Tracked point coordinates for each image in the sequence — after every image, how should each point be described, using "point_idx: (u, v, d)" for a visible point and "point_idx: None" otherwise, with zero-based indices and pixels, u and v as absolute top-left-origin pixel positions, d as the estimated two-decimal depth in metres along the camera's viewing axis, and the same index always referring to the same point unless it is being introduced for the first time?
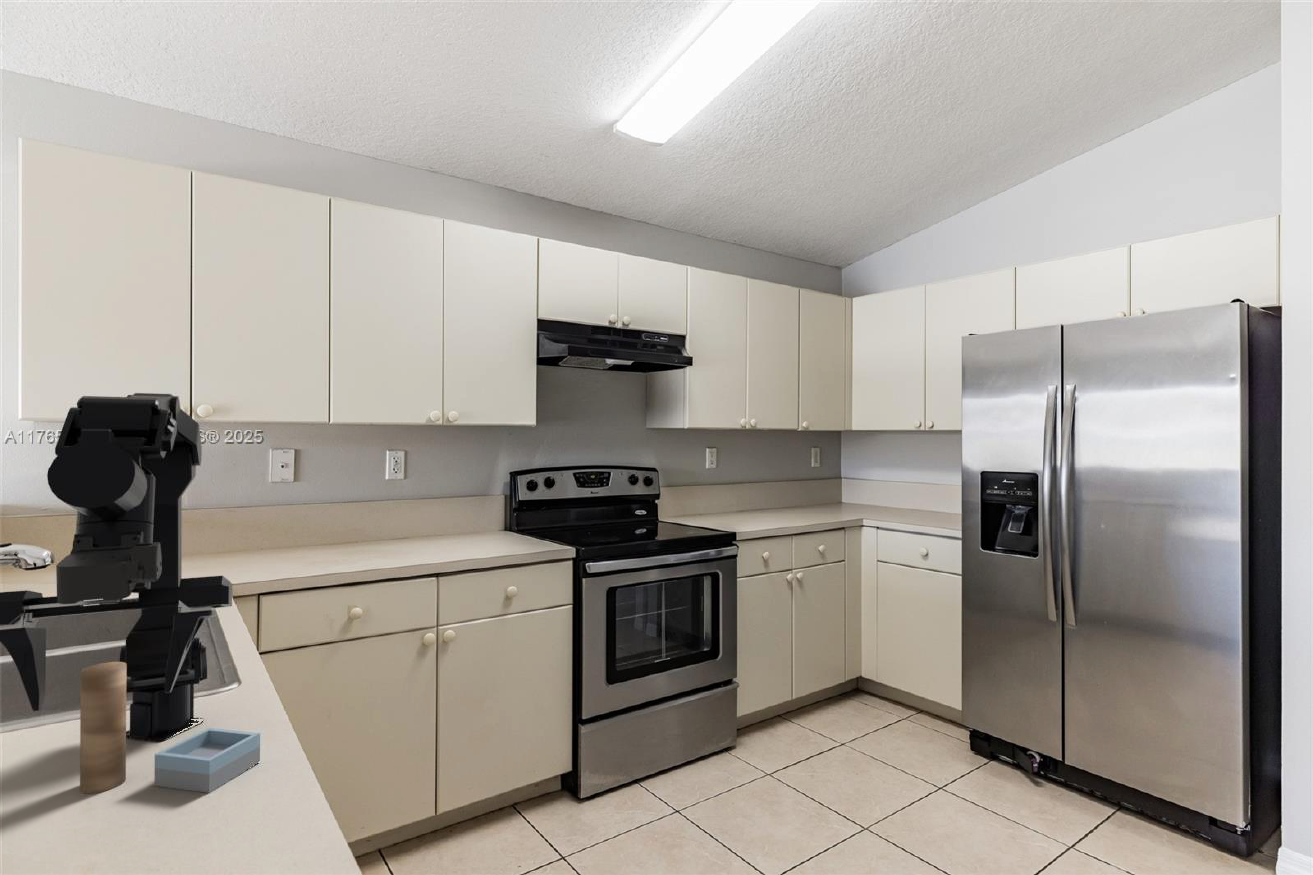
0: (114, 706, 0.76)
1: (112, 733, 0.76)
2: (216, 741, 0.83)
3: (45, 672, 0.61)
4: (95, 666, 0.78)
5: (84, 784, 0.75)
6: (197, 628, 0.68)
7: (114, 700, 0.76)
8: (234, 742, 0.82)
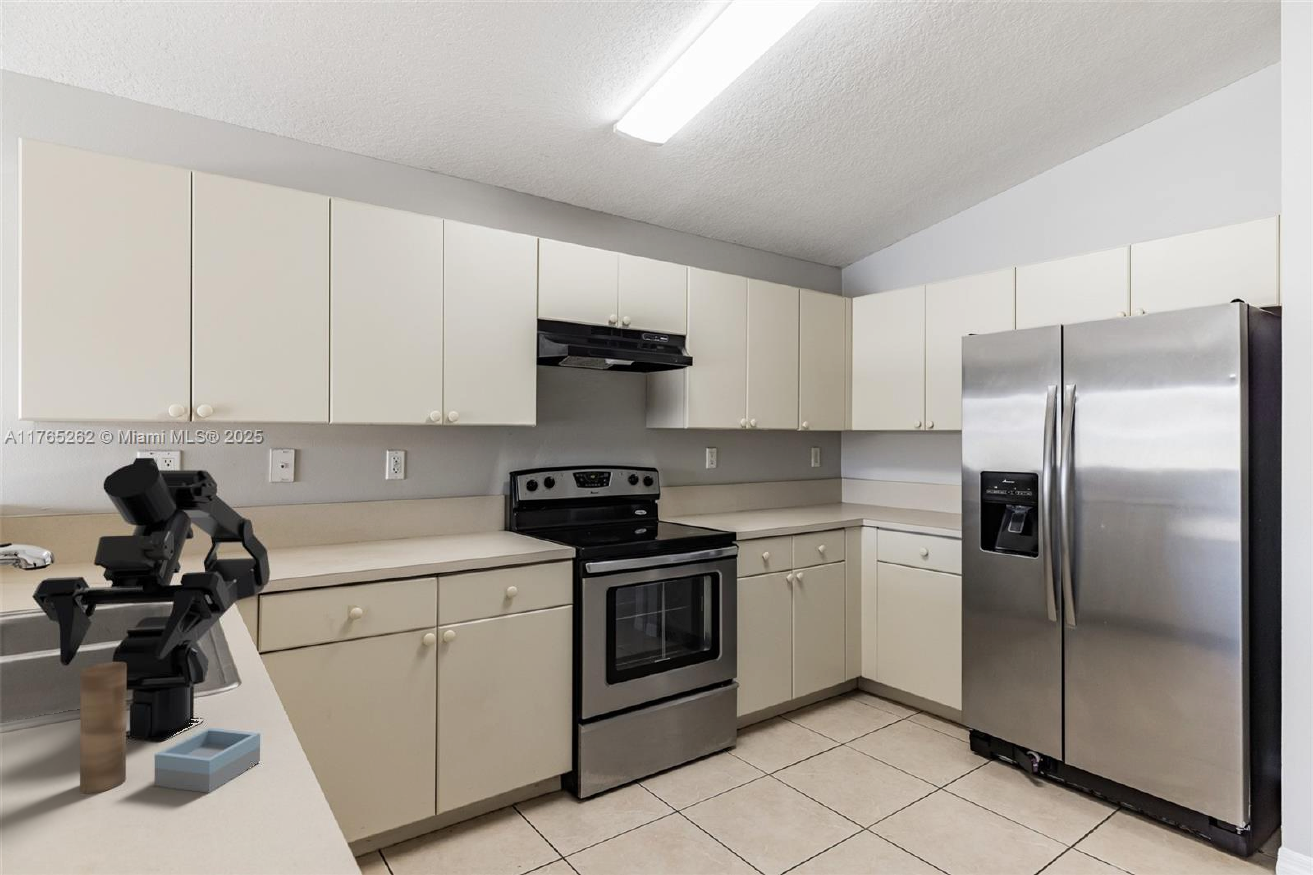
0: (114, 706, 0.76)
1: (112, 733, 0.76)
2: (216, 741, 0.83)
3: (79, 645, 0.80)
4: (95, 666, 0.78)
5: (84, 784, 0.75)
6: (195, 623, 0.85)
7: (114, 700, 0.76)
8: (234, 742, 0.82)
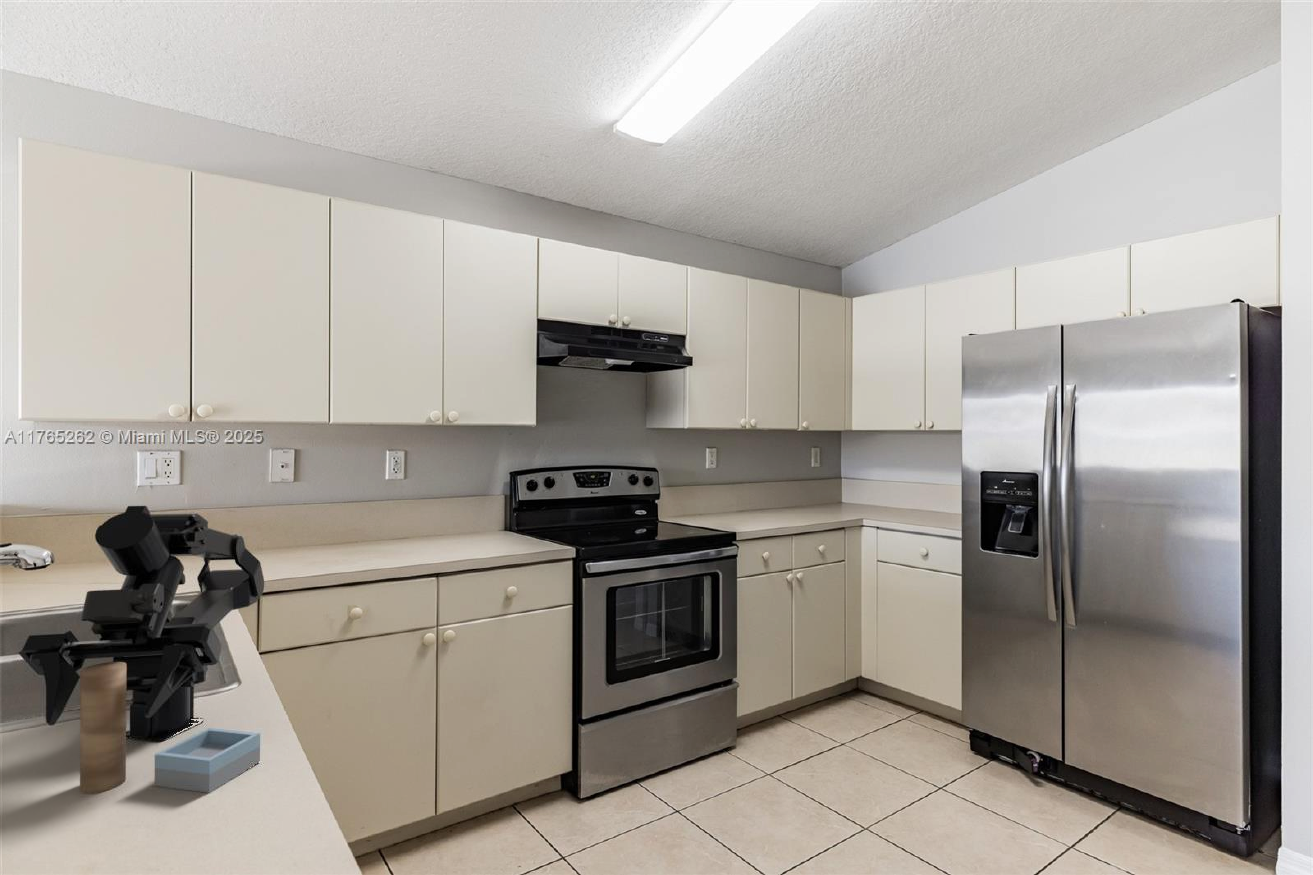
0: (114, 706, 0.76)
1: (112, 733, 0.76)
2: (216, 741, 0.83)
3: (66, 702, 0.78)
4: (95, 666, 0.78)
5: (84, 784, 0.75)
6: (186, 677, 0.83)
7: (114, 700, 0.76)
8: (234, 742, 0.82)
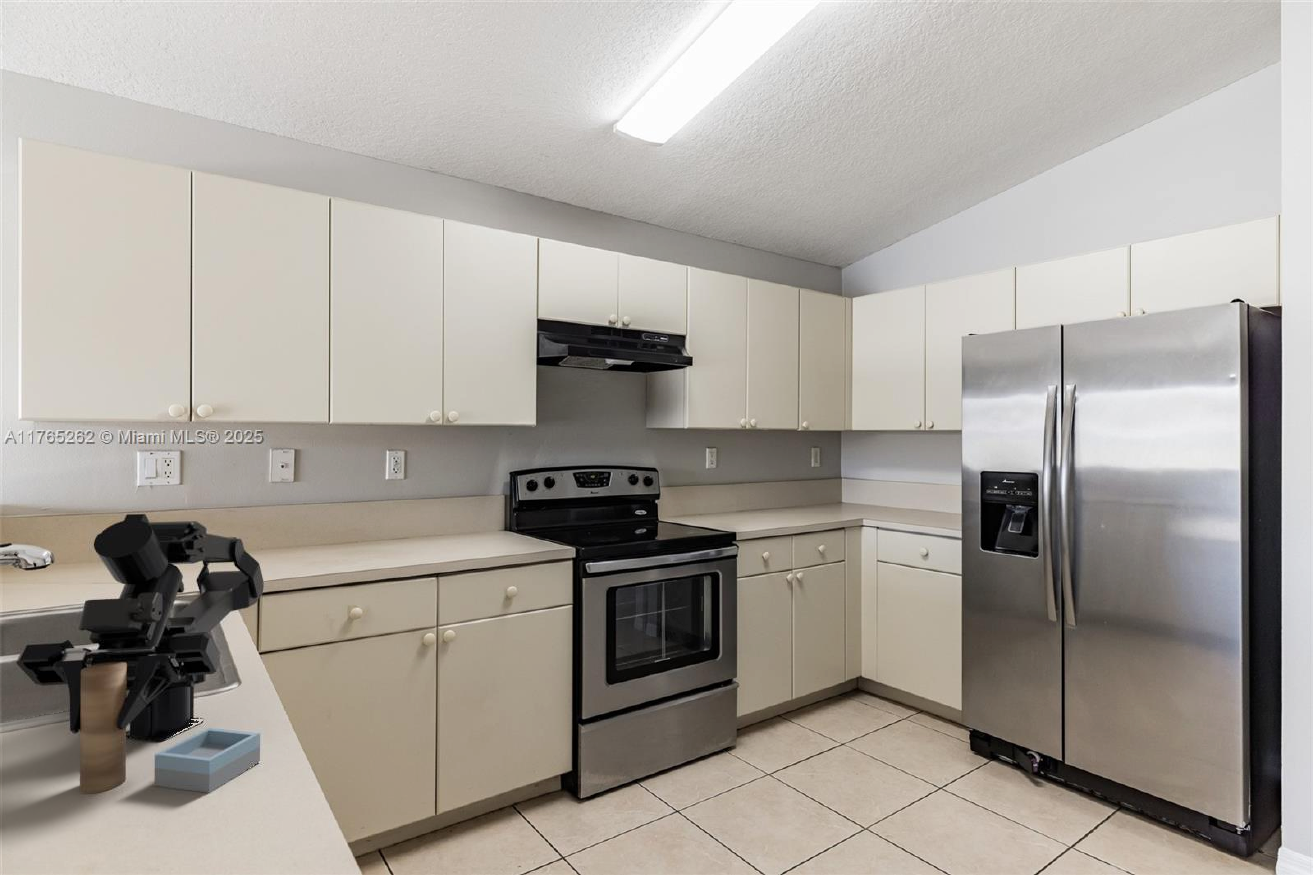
0: (114, 706, 0.76)
1: (112, 733, 0.76)
2: (216, 741, 0.83)
3: None
4: (95, 666, 0.78)
5: (84, 784, 0.75)
6: (161, 688, 0.82)
7: (114, 700, 0.76)
8: (234, 742, 0.82)
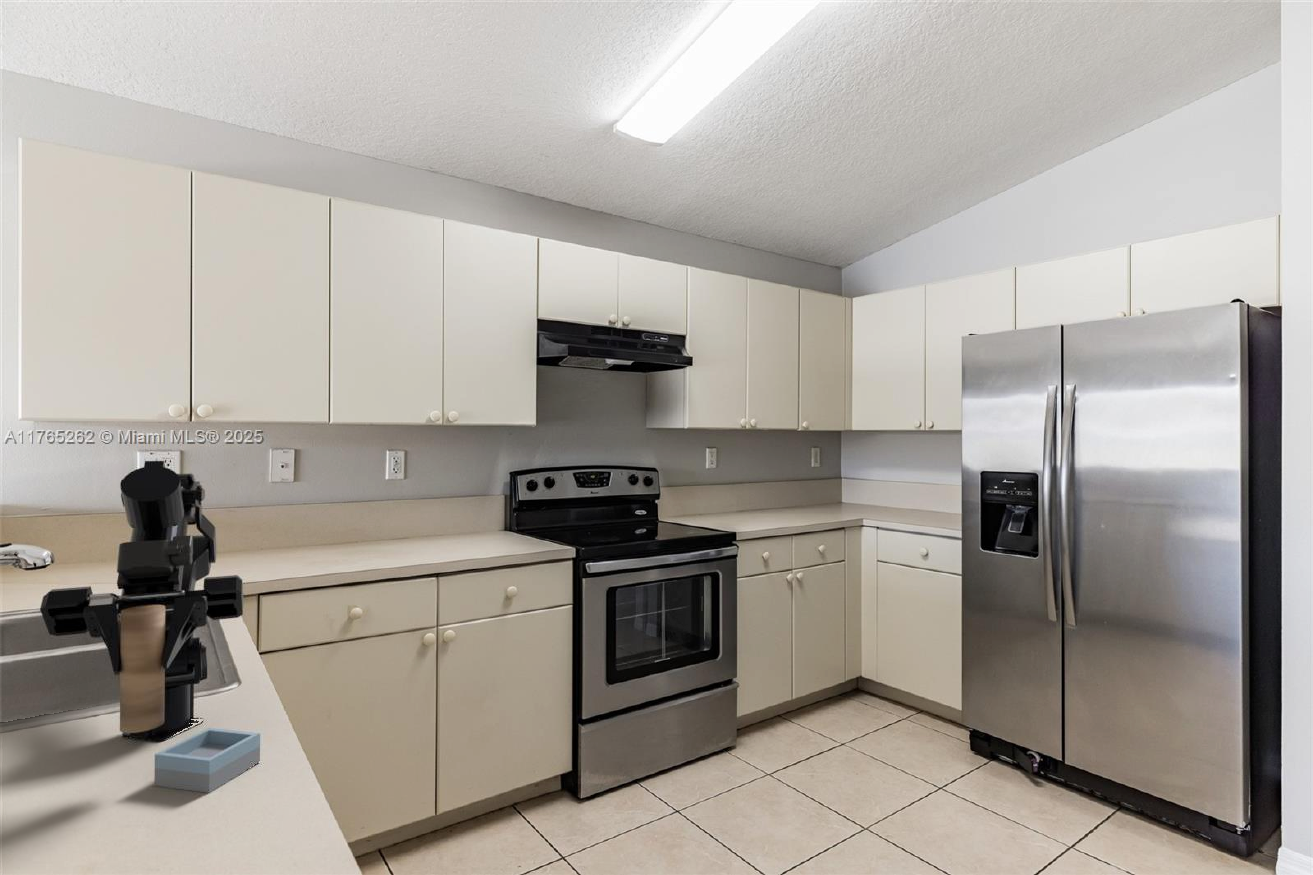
0: (158, 645, 0.77)
1: (156, 672, 0.77)
2: (216, 741, 0.83)
3: None
4: (132, 608, 0.77)
5: (128, 724, 0.75)
6: (191, 631, 0.83)
7: (158, 640, 0.77)
8: (234, 742, 0.82)
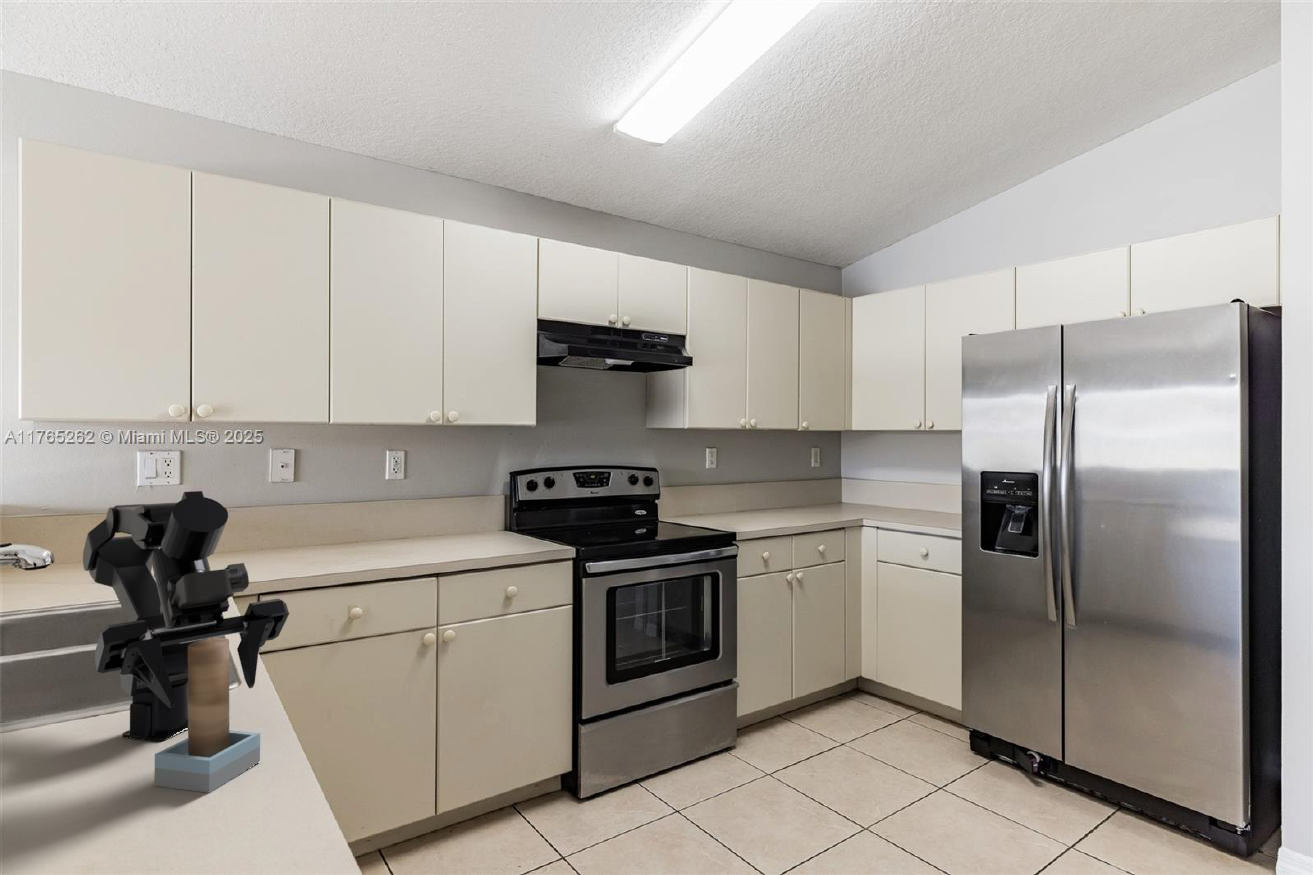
0: (227, 676, 0.80)
1: (226, 702, 0.80)
2: None
3: None
4: (195, 644, 0.79)
5: (203, 755, 0.78)
6: None
7: (227, 671, 0.80)
8: (234, 742, 0.82)
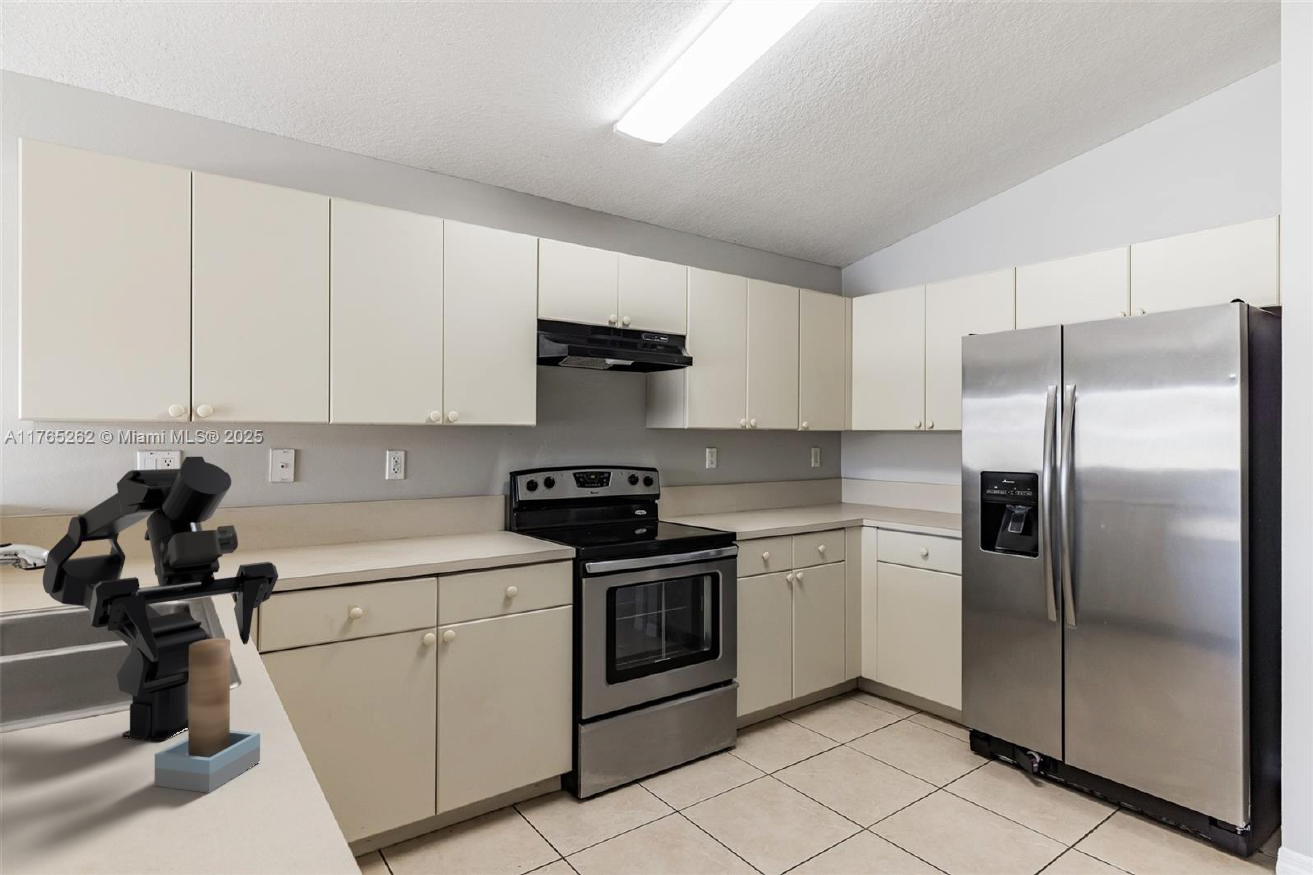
0: (228, 677, 0.80)
1: (227, 703, 0.80)
2: None
3: None
4: (196, 644, 0.79)
5: (203, 755, 0.78)
6: None
7: (228, 671, 0.80)
8: (234, 742, 0.82)
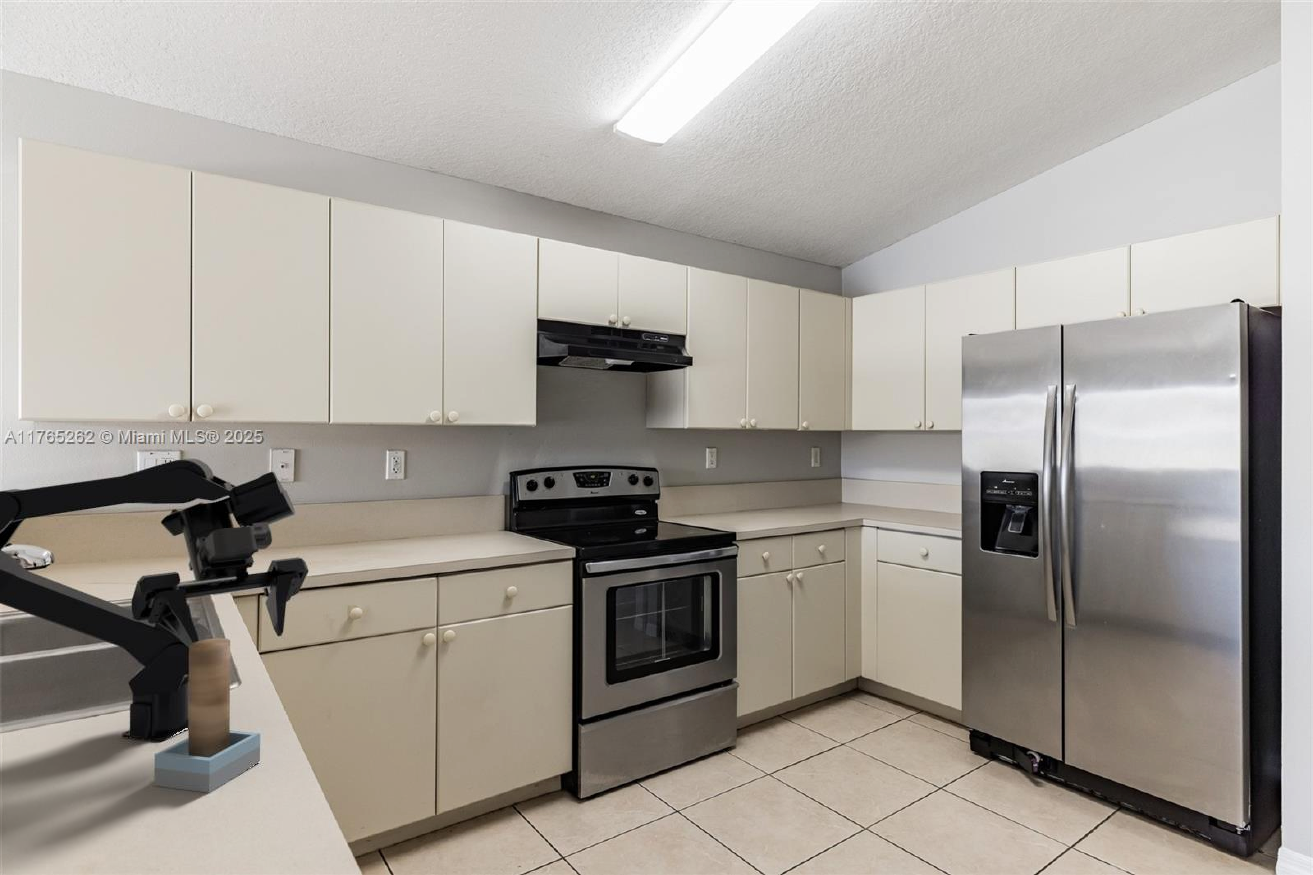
0: (228, 677, 0.80)
1: (227, 703, 0.80)
2: None
3: None
4: (196, 644, 0.79)
5: (203, 755, 0.78)
6: None
7: (228, 671, 0.80)
8: (234, 742, 0.82)
